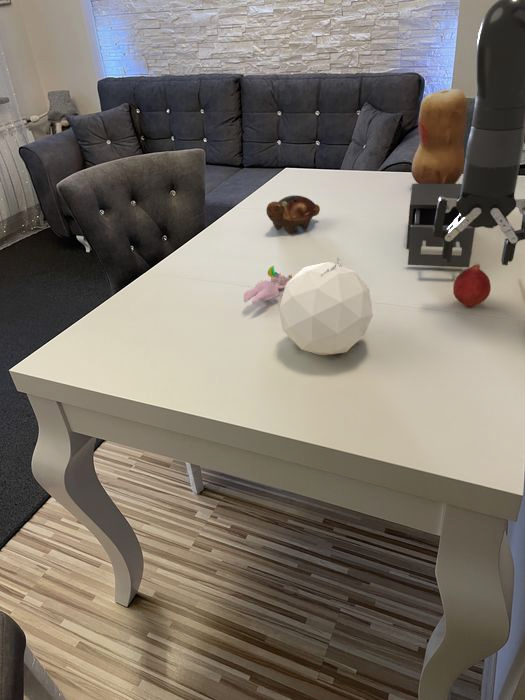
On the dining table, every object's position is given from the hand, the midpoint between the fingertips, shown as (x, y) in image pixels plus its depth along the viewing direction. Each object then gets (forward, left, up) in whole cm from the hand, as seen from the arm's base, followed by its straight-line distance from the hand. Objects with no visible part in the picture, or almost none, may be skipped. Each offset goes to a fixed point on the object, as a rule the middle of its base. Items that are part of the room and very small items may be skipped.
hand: (476, 262), depth 86 cm
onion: (0, 0, -9) cm, 9 cm away
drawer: (+5, -19, -8) cm, 21 cm away
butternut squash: (+5, -66, -9) cm, 67 cm away
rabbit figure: (+35, +1, -9) cm, 36 cm away
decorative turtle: (+38, -35, -9) cm, 53 cm away
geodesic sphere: (+22, +16, -9) cm, 28 cm away
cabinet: (+5, -32, -9) cm, 34 cm away
